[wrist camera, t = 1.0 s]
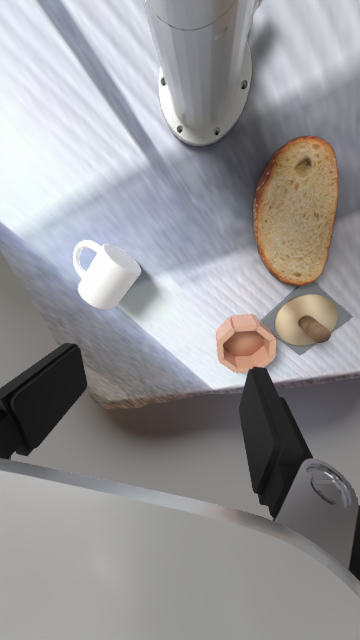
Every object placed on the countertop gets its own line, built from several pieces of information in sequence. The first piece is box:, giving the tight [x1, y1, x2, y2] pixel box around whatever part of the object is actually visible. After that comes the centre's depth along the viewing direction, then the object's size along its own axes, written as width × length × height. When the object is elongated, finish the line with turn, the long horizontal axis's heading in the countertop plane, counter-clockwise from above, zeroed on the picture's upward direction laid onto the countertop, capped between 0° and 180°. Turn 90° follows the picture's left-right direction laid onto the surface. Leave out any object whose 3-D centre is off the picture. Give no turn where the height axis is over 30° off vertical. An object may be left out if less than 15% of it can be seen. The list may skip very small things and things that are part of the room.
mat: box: [261, 282, 353, 355], centre depth 37 cm, size 12×12×1 cm
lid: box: [275, 294, 338, 346], centre depth 34 cm, size 11×11×6 cm
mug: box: [73, 240, 141, 310], centre depth 35 cm, size 12×10×8 cm
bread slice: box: [253, 136, 338, 286], centre depth 29 cm, size 18×18×4 cm
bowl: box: [216, 314, 276, 373], centre depth 39 cm, size 11×11×5 cm
